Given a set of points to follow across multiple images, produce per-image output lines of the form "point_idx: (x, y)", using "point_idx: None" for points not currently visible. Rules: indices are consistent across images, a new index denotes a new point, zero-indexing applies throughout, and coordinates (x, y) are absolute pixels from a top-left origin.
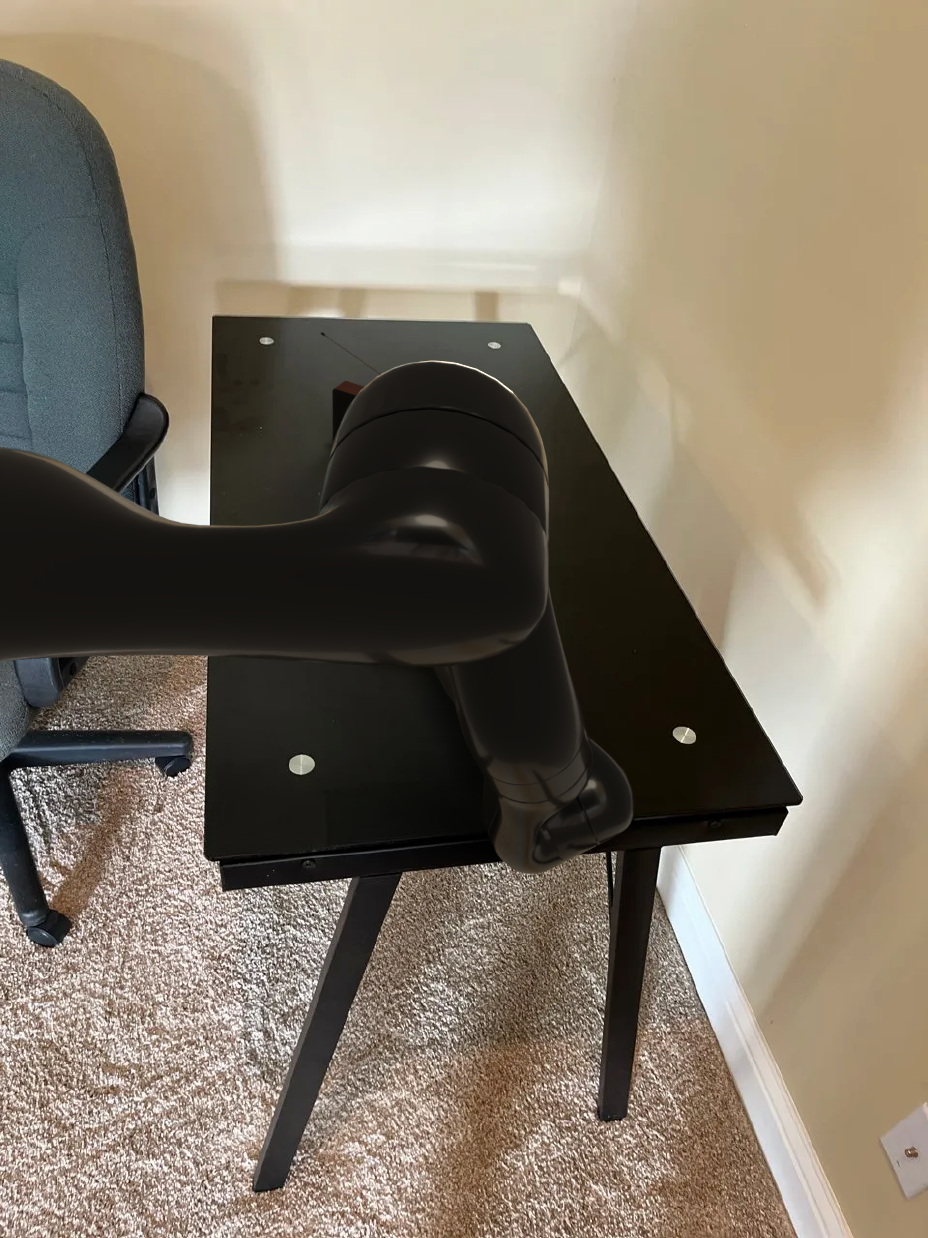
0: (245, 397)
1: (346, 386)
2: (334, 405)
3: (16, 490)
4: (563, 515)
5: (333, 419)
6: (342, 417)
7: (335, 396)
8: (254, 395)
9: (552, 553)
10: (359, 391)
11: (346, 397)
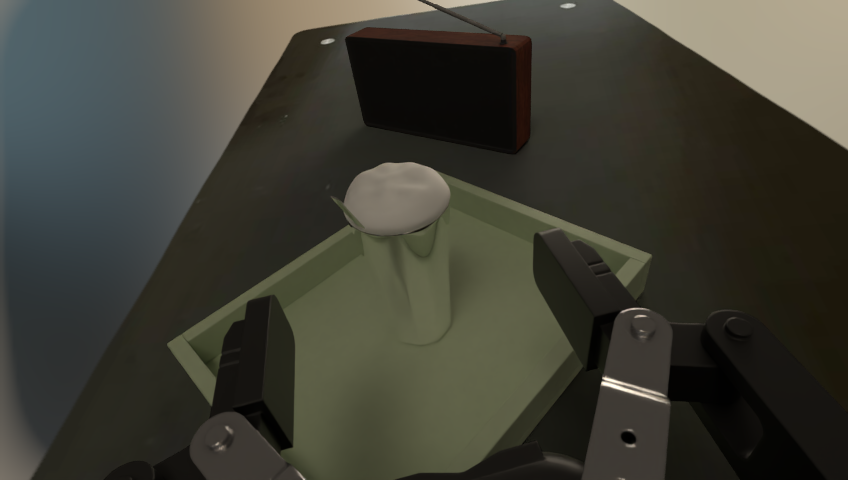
0: (283, 89)
1: (364, 32)
2: (352, 63)
3: None
4: (738, 177)
5: (356, 84)
6: (365, 78)
7: (350, 49)
8: (294, 86)
9: (750, 255)
10: (380, 34)
11: (363, 46)
